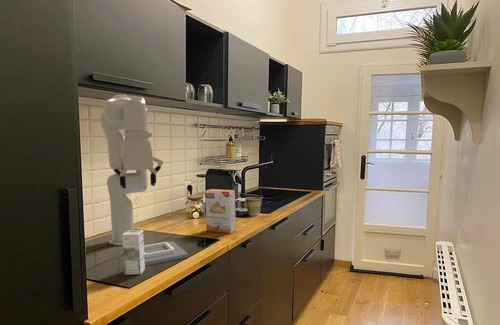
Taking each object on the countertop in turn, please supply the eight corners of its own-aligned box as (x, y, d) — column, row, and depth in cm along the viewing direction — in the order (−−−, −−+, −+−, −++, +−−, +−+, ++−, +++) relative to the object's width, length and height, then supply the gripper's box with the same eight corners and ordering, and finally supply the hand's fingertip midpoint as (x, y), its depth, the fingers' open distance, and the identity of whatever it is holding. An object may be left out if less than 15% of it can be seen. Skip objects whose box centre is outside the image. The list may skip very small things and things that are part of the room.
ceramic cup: (259, 216, 202) (259, 199, 201) (243, 215, 205) (243, 199, 204) (264, 212, 214) (264, 196, 214) (249, 211, 217) (249, 195, 217)
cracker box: (206, 231, 172) (204, 190, 170) (212, 228, 177) (210, 188, 176) (230, 234, 166) (229, 191, 164) (236, 231, 171) (235, 189, 170)
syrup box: (145, 268, 123) (143, 229, 122) (140, 275, 117) (138, 233, 116) (129, 269, 123) (127, 229, 122) (123, 275, 117) (121, 234, 116)
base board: (125, 253, 141) (125, 245, 141) (173, 244, 151) (172, 237, 151) (135, 268, 124) (135, 259, 124) (188, 257, 134) (188, 249, 134)
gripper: (158, 136, 123) (160, 183, 125) (107, 137, 115) (110, 188, 116) (164, 135, 117) (166, 185, 118) (110, 136, 108) (113, 190, 109)
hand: (138, 186), depth 117 cm, fingers open, 9 cm apart
